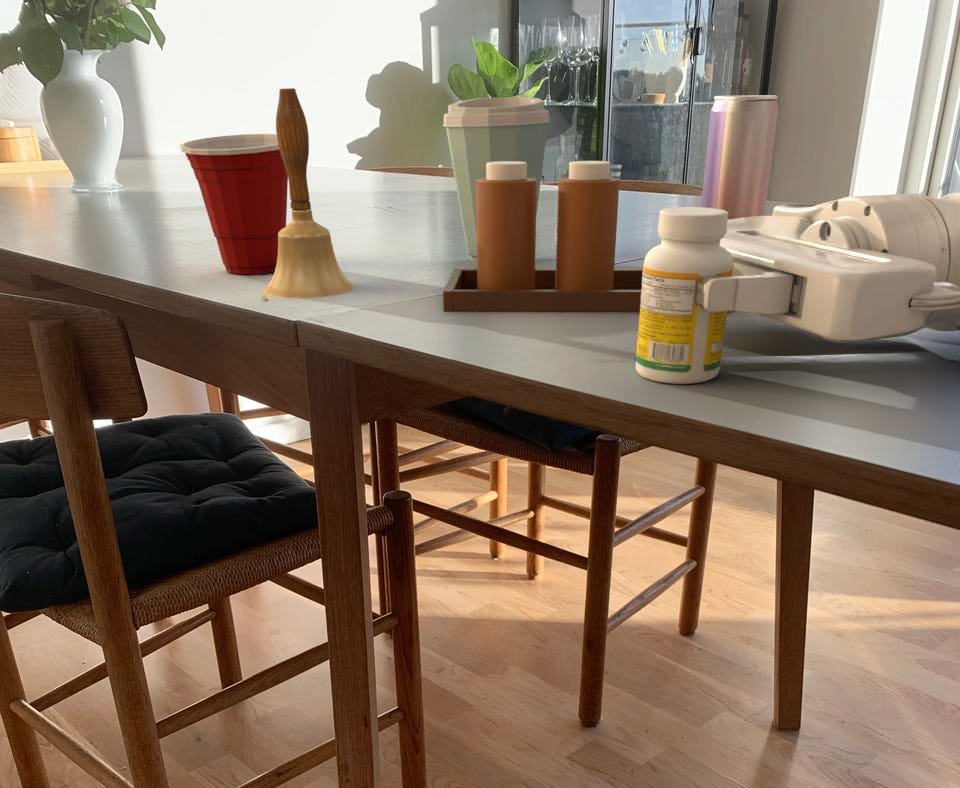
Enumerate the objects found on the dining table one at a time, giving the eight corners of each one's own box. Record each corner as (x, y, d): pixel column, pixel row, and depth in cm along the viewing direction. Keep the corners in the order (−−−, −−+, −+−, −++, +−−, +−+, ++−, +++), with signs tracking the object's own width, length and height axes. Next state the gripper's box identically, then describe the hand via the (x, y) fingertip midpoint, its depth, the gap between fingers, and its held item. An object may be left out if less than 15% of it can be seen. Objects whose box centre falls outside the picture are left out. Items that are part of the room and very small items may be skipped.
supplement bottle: (654, 388, 58) (669, 217, 53) (622, 366, 62) (633, 207, 57) (735, 381, 59) (756, 214, 54) (697, 360, 63) (714, 204, 58)
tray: (709, 294, 83) (712, 268, 82) (730, 320, 74) (733, 292, 73) (454, 293, 84) (453, 268, 83) (443, 318, 75) (442, 291, 74)
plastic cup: (176, 276, 93) (154, 139, 87) (235, 259, 102) (218, 133, 96) (273, 282, 90) (257, 140, 84) (325, 264, 99) (314, 134, 93)
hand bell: (308, 308, 79) (287, 88, 71) (243, 297, 84) (216, 88, 75) (376, 293, 85) (363, 87, 77) (311, 283, 89) (293, 88, 81)
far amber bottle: (531, 292, 82) (533, 160, 76) (537, 303, 77) (540, 164, 72) (475, 293, 81) (474, 160, 76) (479, 304, 77) (478, 165, 72)
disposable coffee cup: (541, 270, 94) (545, 97, 87) (436, 268, 96) (431, 98, 88) (551, 253, 103) (555, 96, 96) (455, 252, 105) (451, 97, 97)
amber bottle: (606, 292, 81) (614, 159, 76) (617, 303, 77) (626, 164, 72) (551, 293, 81) (555, 160, 76) (559, 304, 77) (563, 164, 72)
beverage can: (682, 271, 93) (699, 96, 86) (716, 264, 97) (735, 95, 89) (735, 278, 89) (757, 96, 82) (768, 270, 93) (792, 95, 85)
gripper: (969, 356, 55) (763, 379, 51) (765, 293, 71) (599, 307, 67) (998, 238, 51) (781, 253, 47) (778, 201, 68) (604, 210, 64)
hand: (672, 284), depth 58 cm, fingers closed on supplement bottle, 5 cm apart
